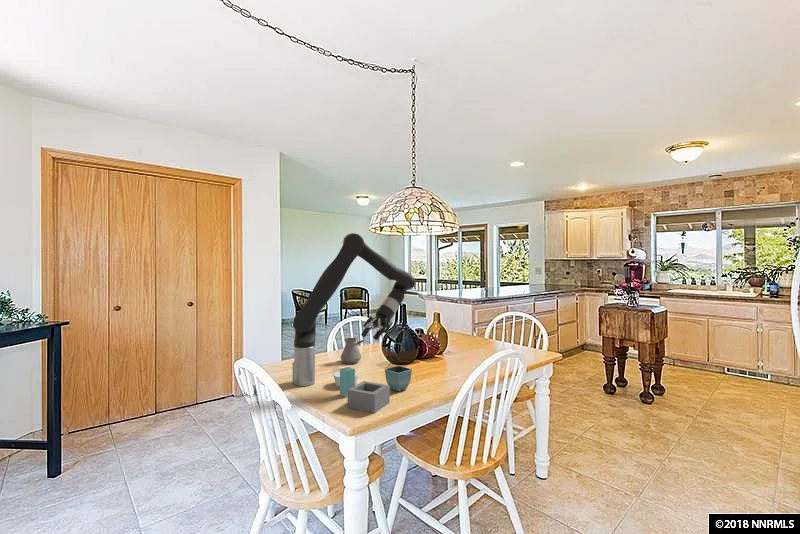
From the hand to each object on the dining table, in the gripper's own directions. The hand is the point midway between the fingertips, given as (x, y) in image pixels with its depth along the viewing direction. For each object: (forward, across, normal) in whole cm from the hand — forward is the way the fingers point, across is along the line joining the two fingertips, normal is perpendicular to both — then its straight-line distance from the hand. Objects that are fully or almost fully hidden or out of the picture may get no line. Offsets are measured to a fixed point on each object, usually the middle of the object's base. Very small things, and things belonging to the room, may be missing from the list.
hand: (368, 337), depth 172 cm
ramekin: (+19, -11, +13) cm, 26 cm away
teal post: (+24, 0, +8) cm, 25 cm away
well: (+25, +15, +7) cm, 30 cm away
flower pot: (+10, +9, +22) cm, 26 cm away
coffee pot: (+2, -36, +30) cm, 47 cm away
